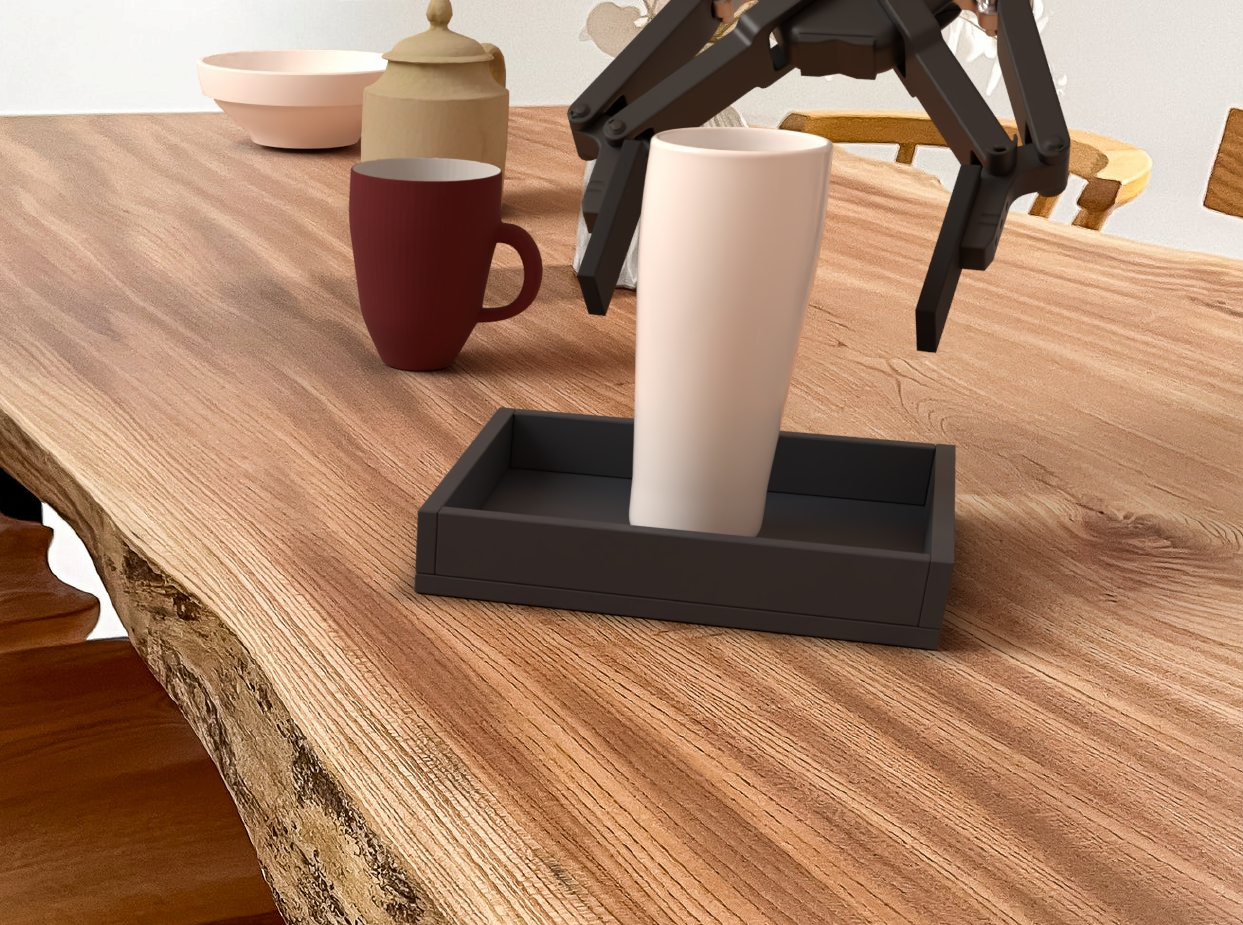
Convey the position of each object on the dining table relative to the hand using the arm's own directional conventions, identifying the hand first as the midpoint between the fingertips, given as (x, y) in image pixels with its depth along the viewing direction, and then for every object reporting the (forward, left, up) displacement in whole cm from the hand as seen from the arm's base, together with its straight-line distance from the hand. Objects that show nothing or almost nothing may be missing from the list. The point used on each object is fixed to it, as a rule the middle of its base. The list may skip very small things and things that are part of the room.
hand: (752, 314), depth 76 cm
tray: (+1, +4, -9) cm, 10 cm away
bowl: (+48, -99, -9) cm, 111 cm away
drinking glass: (+1, +4, -8) cm, 9 cm away
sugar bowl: (+30, -73, -9) cm, 80 cm away
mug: (+18, -24, -9) cm, 32 cm away
